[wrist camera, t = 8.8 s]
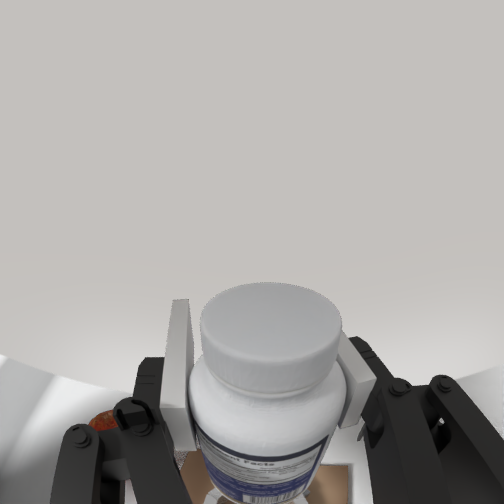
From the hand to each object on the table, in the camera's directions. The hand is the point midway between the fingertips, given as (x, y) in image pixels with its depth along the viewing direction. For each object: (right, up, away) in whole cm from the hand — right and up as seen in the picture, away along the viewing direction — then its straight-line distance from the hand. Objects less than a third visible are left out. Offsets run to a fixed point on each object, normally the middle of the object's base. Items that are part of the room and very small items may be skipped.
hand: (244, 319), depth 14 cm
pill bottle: (+1, -8, -3) cm, 8 cm away
